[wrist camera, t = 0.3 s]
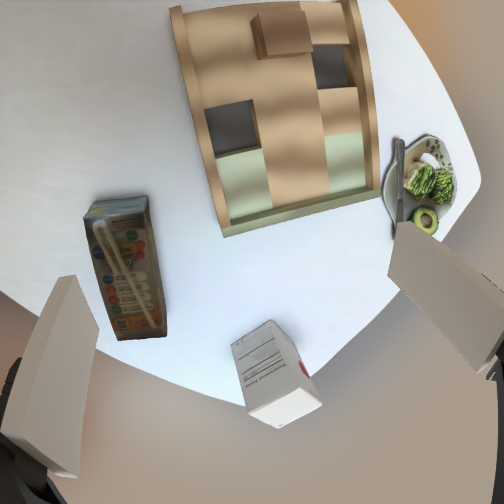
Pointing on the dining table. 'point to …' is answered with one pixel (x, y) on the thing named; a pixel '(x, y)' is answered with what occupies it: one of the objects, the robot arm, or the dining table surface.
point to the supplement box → (273, 376)
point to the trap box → (280, 113)
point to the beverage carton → (127, 267)
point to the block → (281, 34)
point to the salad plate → (419, 184)
